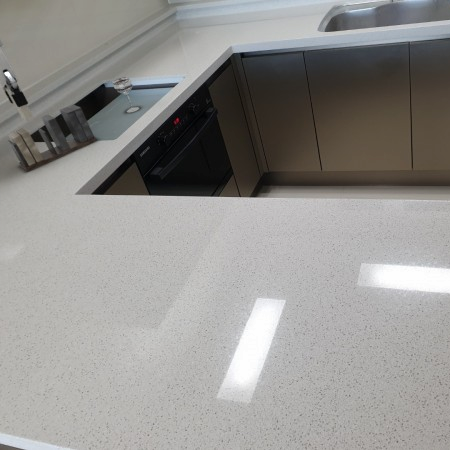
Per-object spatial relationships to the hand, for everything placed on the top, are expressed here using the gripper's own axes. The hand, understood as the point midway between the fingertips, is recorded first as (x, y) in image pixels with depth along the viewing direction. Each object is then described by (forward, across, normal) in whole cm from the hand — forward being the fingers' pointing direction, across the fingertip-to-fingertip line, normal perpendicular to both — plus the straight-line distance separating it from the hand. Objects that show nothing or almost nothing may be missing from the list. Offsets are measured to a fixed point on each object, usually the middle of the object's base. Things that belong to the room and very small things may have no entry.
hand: (19, 103), depth 144 cm
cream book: (+5, 0, 0) cm, 5 cm away
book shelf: (+19, 0, +4) cm, 20 cm away
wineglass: (+20, -11, +38) cm, 44 cm away
